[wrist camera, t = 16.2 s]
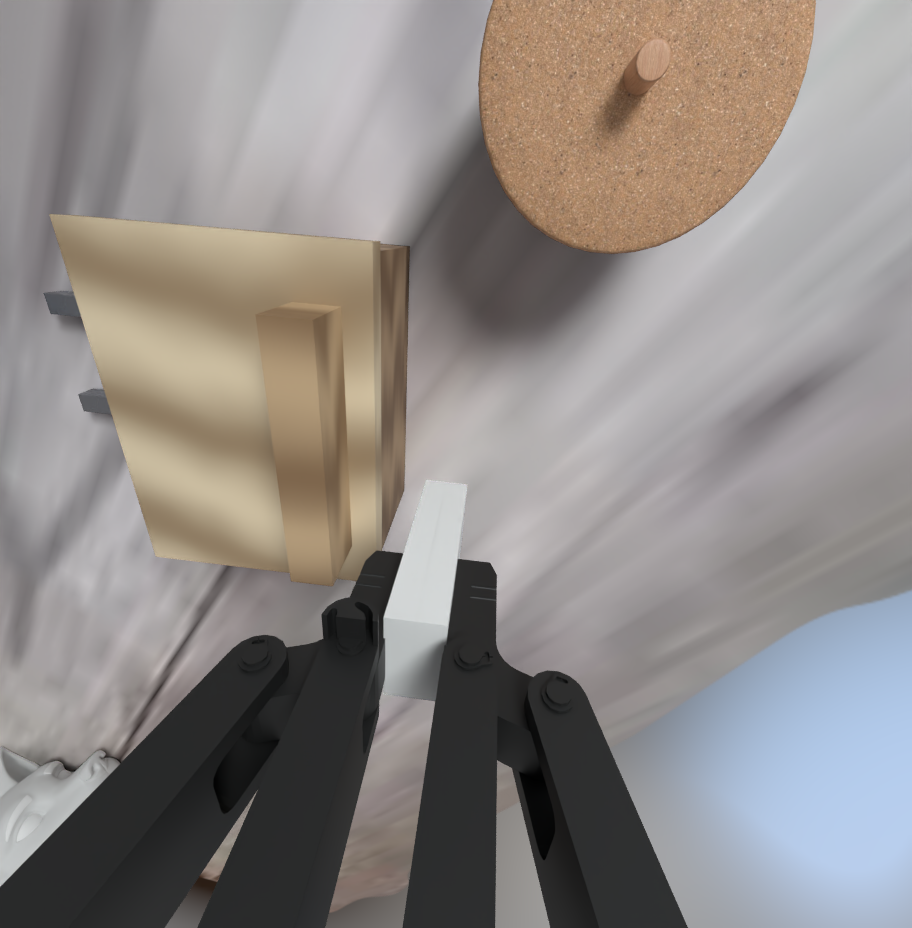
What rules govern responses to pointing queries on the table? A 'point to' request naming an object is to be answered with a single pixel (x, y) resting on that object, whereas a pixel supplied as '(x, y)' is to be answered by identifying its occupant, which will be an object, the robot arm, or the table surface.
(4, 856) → the fox head
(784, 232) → the table surface
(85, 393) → the pair of grey bars
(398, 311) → the toolbox
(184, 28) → the table surface
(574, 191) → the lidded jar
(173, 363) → the lid
